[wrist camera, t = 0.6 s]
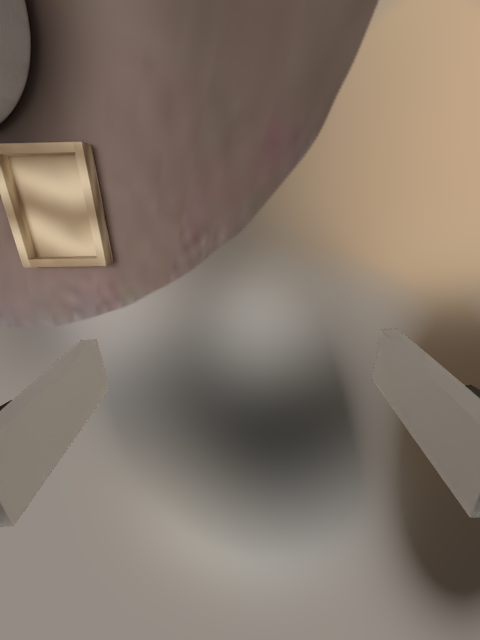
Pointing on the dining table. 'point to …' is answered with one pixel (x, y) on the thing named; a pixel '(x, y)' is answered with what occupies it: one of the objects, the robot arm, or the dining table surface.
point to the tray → (54, 204)
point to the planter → (13, 53)
